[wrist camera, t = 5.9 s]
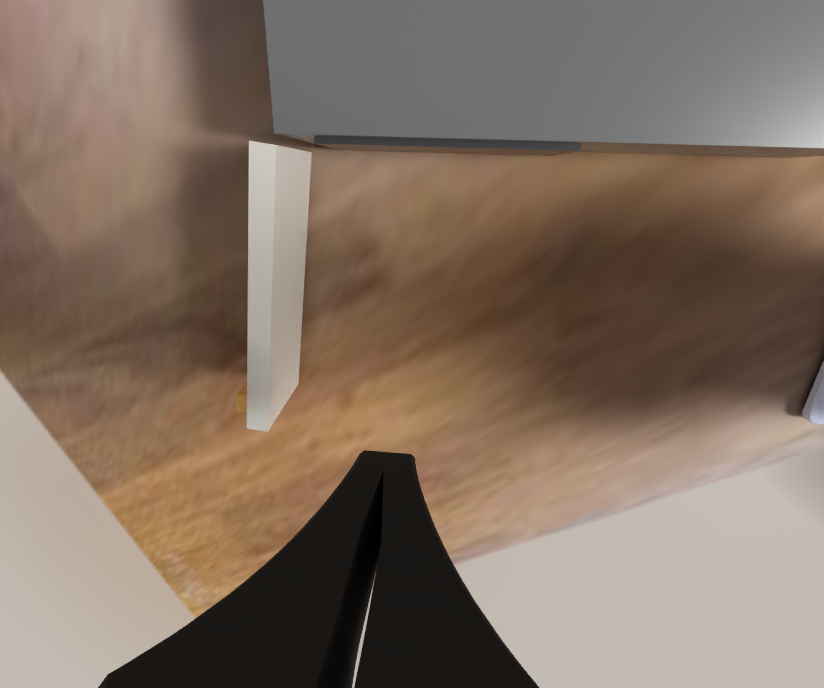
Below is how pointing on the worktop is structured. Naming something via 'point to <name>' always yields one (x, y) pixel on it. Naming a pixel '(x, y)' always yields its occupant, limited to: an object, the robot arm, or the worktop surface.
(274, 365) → the door
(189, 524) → the worktop surface
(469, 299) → the worktop surface
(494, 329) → the worktop surface
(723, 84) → the camera housing
